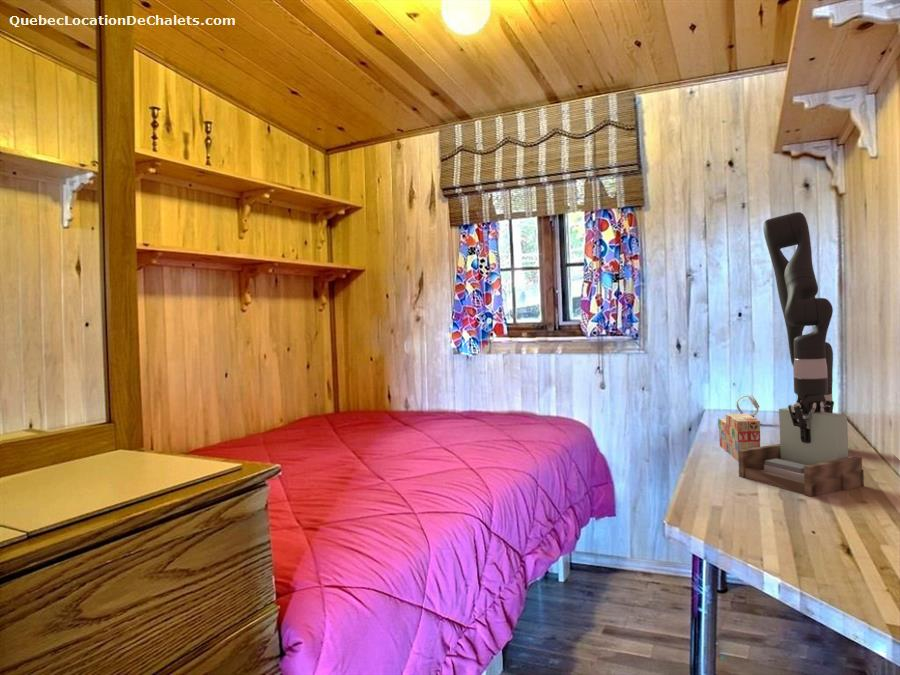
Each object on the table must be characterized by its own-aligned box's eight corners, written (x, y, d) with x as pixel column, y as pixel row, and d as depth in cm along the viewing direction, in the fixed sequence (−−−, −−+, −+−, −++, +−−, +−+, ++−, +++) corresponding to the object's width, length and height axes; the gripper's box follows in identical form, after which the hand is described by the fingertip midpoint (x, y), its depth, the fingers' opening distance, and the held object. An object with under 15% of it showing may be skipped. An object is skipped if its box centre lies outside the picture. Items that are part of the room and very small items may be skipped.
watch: (760, 425, 225) (759, 396, 224) (737, 425, 228) (736, 396, 228) (759, 423, 230) (758, 394, 229) (736, 422, 233) (735, 394, 233)
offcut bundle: (773, 475, 160) (772, 456, 160) (825, 489, 146) (824, 469, 146) (759, 477, 158) (758, 459, 158) (810, 492, 144) (810, 471, 144)
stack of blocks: (719, 446, 196) (717, 409, 195) (739, 446, 195) (738, 408, 194) (738, 462, 175) (737, 420, 174) (761, 462, 173) (760, 420, 173)
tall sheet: (791, 458, 163) (789, 407, 162) (848, 471, 148) (847, 415, 147) (780, 460, 162) (779, 408, 161) (837, 473, 147) (835, 417, 146)
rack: (788, 467, 166) (787, 442, 166) (863, 485, 146) (863, 457, 146) (739, 476, 160) (738, 450, 160) (810, 496, 140) (809, 467, 140)
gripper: (816, 372, 160) (818, 435, 161) (777, 377, 155) (779, 442, 156) (843, 374, 153) (845, 440, 153) (803, 379, 148) (805, 447, 149)
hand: (812, 441), depth 155 cm, fingers closed on tall sheet, 4 cm apart
